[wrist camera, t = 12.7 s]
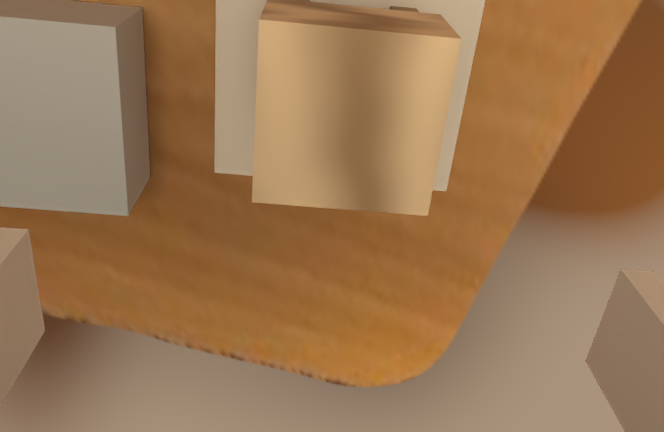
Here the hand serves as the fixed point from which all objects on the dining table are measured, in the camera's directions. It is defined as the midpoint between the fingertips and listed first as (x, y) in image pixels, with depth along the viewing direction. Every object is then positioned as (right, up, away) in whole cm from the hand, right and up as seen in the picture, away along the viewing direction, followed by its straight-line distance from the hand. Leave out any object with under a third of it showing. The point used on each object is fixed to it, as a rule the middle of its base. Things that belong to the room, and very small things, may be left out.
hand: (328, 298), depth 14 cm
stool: (+1, +10, +20) cm, 22 cm away
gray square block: (-16, +9, +21) cm, 28 cm away
